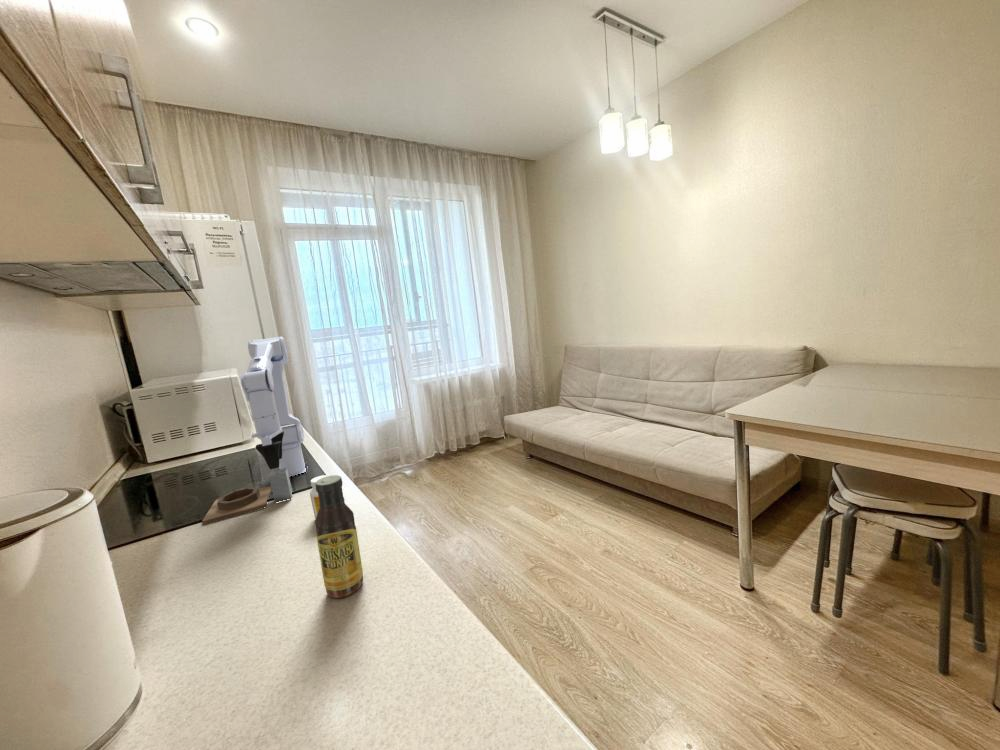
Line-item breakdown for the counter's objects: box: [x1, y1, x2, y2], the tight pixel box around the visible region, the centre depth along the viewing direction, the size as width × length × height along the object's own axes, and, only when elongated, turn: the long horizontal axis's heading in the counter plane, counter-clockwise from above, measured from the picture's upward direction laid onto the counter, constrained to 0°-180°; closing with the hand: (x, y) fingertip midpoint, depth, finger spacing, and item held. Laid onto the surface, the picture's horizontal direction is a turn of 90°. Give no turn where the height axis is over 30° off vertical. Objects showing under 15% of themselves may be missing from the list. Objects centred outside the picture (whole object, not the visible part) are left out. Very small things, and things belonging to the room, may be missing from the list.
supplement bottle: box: [309, 474, 328, 520], centre depth 94 cm, size 5×5×10 cm
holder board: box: [201, 485, 272, 526], centre depth 107 cm, size 14×14×3 cm
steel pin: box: [268, 468, 293, 504], centre depth 107 cm, size 4×4×8 cm
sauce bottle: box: [314, 474, 364, 599], centre depth 66 cm, size 7×6×20 cm
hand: (276, 463), depth 106 cm, fingers open, 7 cm apart
